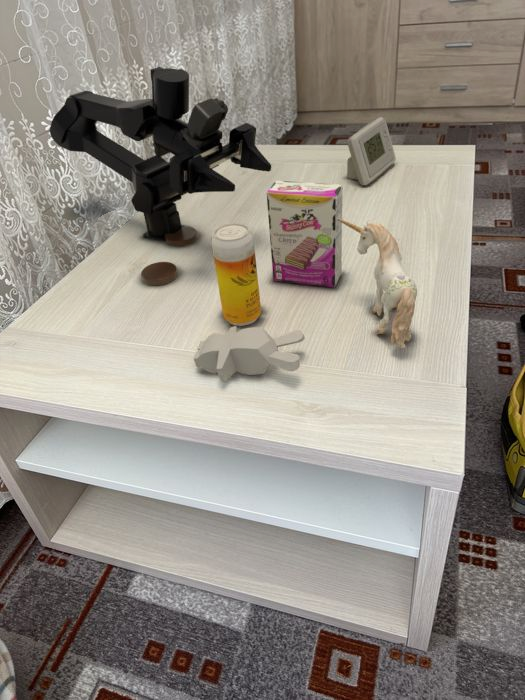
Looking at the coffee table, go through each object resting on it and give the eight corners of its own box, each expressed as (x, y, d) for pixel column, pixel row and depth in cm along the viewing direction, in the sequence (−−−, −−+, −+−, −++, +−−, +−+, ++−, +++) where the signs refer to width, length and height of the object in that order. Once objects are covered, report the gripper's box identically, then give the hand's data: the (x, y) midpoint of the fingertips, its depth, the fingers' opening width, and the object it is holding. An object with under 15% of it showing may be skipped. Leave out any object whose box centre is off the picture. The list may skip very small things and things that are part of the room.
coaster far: (159, 243, 110) (158, 238, 109) (178, 229, 114) (176, 224, 113) (186, 248, 107) (184, 243, 107) (203, 234, 112) (202, 228, 111)
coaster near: (135, 281, 99) (133, 276, 98) (156, 264, 103) (155, 259, 103) (163, 288, 97) (162, 282, 96) (184, 270, 101) (183, 265, 100)
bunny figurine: (202, 321, 81) (302, 313, 77) (211, 348, 84) (308, 342, 80) (184, 362, 74) (294, 357, 70) (195, 390, 77) (300, 386, 73)
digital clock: (364, 189, 122) (365, 140, 115) (332, 180, 127) (332, 133, 120) (407, 166, 130) (410, 119, 123) (375, 158, 135) (377, 113, 129)
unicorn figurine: (375, 281, 92) (378, 207, 84) (442, 347, 78) (455, 264, 69) (336, 292, 91) (336, 217, 82) (397, 361, 76) (404, 278, 68)
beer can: (257, 328, 85) (247, 241, 76) (219, 326, 86) (204, 240, 77) (264, 306, 89) (256, 221, 80) (228, 304, 91) (216, 221, 81)
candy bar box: (272, 282, 95) (264, 191, 85) (281, 268, 99) (274, 179, 88) (336, 289, 92) (335, 196, 81) (342, 274, 95) (343, 182, 85)
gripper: (140, 110, 84) (216, 150, 78) (222, 79, 94) (294, 113, 89) (144, 175, 92) (213, 216, 86) (219, 140, 103) (285, 175, 97)
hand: (253, 178), depth 89 cm, fingers open, 9 cm apart
